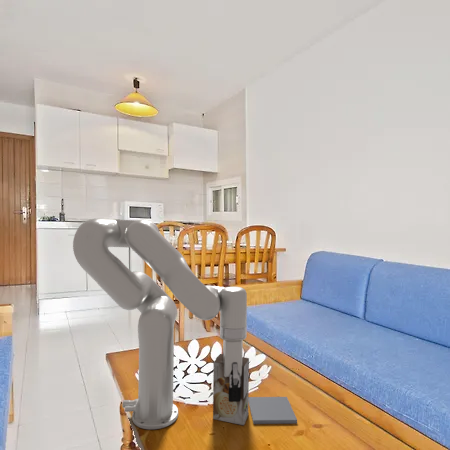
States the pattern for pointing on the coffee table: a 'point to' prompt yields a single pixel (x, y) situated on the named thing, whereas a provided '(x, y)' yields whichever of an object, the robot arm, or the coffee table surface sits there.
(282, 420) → the slate tile
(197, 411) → the coffee table surface
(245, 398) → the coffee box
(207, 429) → the coffee table surface
